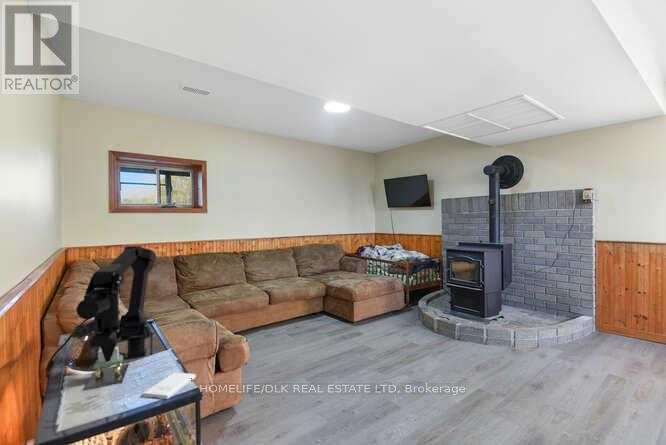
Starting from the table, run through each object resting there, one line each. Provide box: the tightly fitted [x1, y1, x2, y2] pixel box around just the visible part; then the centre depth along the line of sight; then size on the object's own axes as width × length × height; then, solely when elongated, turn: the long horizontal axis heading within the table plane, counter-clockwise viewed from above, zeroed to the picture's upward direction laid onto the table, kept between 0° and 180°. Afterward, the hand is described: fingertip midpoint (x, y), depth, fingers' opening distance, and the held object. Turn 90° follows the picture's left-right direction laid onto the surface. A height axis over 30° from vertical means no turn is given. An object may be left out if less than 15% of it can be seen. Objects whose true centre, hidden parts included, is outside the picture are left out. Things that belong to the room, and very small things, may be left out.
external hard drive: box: [141, 371, 197, 400], centre depth 94 cm, size 2×8×12 cm
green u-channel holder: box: [93, 345, 124, 370], centre depth 101 cm, size 5×7×4 cm
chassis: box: [85, 361, 130, 391], centre depth 101 cm, size 13×9×3 cm
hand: (108, 359), depth 101 cm, fingers closed on green u-channel holder, 2 cm apart
